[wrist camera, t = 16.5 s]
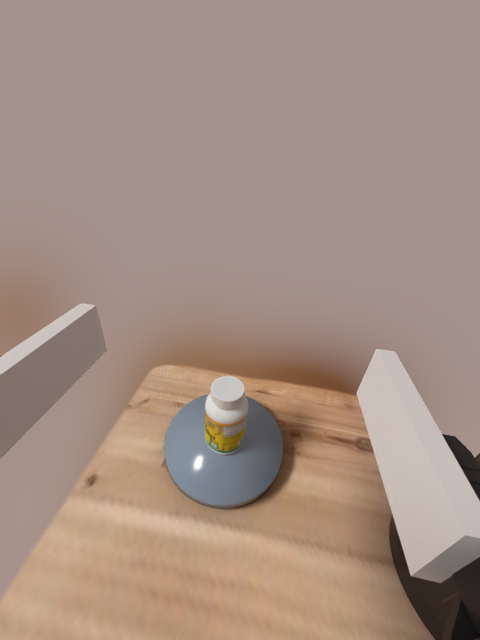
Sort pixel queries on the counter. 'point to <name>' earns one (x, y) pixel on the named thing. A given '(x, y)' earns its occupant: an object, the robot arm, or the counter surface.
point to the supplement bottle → (226, 415)
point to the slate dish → (223, 457)
